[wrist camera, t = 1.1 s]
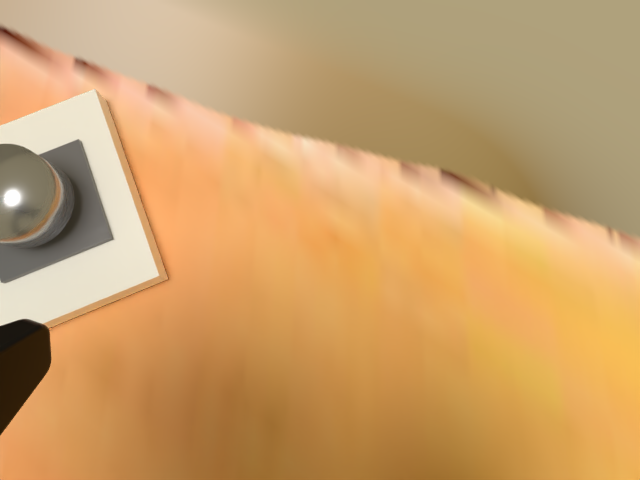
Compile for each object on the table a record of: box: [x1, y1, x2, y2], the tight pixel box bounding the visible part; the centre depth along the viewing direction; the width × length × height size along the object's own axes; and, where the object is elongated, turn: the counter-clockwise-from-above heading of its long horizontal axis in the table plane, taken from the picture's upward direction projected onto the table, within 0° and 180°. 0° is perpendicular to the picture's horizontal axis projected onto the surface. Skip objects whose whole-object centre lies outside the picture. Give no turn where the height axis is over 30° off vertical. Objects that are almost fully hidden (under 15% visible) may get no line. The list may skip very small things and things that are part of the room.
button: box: [0, 144, 74, 248], centre depth 20 cm, size 4×4×2 cm
